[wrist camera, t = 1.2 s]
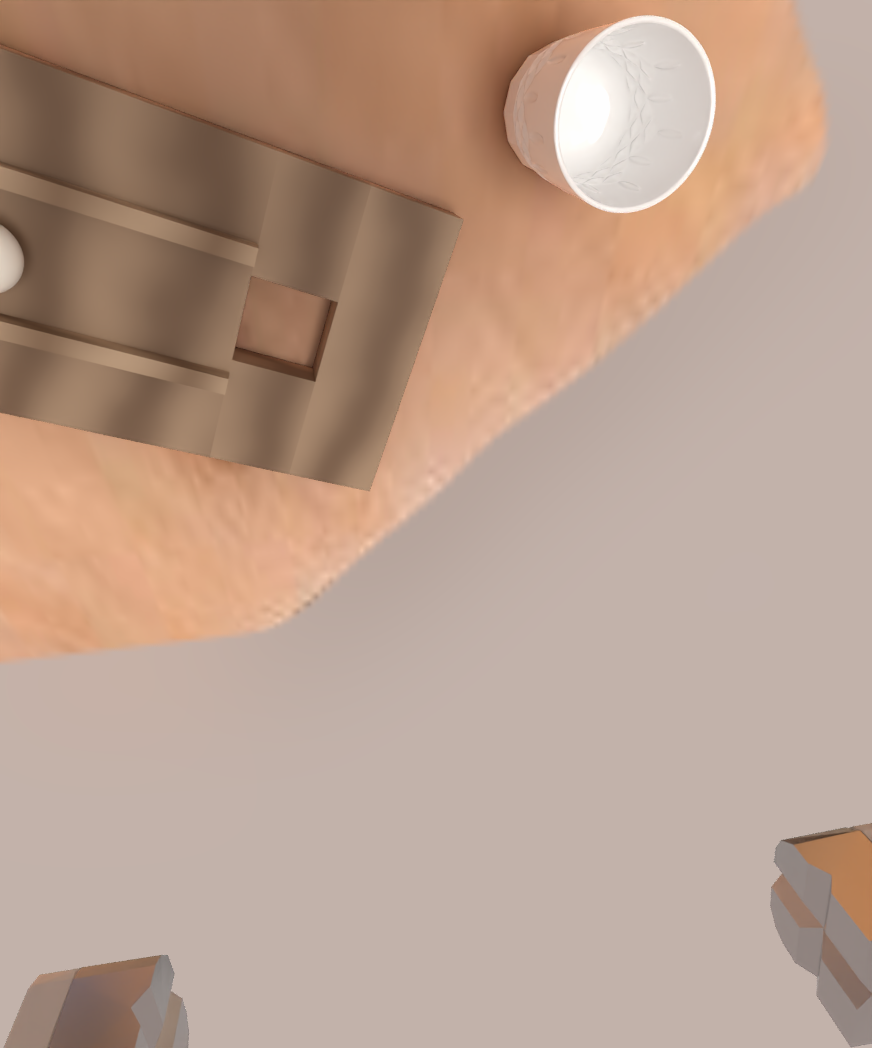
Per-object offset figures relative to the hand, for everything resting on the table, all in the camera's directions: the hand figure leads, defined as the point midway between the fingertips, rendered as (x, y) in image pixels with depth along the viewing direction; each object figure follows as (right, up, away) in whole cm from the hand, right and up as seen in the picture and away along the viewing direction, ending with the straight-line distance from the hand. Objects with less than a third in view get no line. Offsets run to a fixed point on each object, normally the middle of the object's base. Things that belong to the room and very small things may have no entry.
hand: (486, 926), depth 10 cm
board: (-17, +19, +32) cm, 41 cm away
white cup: (+6, +29, +32) cm, 44 cm away
